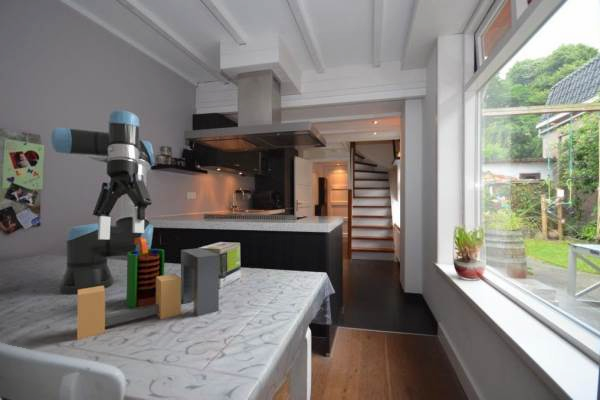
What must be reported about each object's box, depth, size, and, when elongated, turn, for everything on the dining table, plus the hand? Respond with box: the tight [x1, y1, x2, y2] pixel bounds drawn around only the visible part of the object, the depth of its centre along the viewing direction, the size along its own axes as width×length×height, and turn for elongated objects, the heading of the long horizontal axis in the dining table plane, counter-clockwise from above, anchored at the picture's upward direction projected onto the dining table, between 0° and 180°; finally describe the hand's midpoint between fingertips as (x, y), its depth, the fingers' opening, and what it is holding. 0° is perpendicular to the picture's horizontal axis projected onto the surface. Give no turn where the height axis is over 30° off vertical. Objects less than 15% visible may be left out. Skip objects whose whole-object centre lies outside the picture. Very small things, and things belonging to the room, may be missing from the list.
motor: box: [125, 237, 166, 309], centre depth 83 cm, size 10×9×20 cm
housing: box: [180, 247, 220, 317], centre depth 80 cm, size 15×6×16 cm, turn 40°
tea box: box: [199, 241, 242, 289], centre depth 104 cm, size 15×10×15 cm, turn 163°
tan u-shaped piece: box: [76, 273, 182, 341], centre depth 69 cm, size 6×22×10 cm, turn 130°
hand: (120, 236), depth 72 cm, fingers open, 13 cm apart
